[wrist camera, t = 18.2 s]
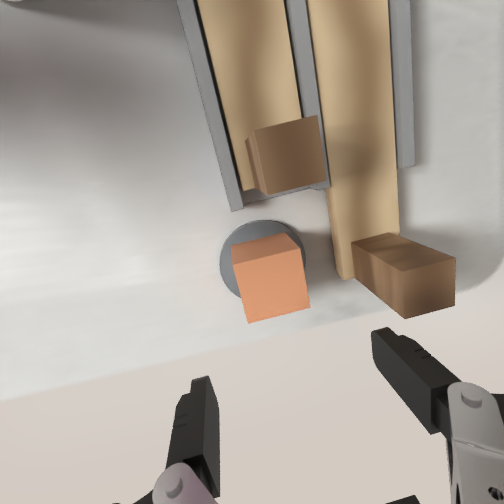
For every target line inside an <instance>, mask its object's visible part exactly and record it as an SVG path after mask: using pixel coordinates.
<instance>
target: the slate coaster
mask: <svg viewBox="0 0 504 504" xmlns="http://www.w3.org/2000/svg"><path fill="white" fill-rule="evenodd" d="M283 232H285V233H286V234H287V235H288V236H289V237H290V238H291V239H292V240H293V241H294V242H295V243H296V244H297V246H298V247H299V248H300V250H301V256H302V262H303V268H304V267H305V252H304V248H303V246H302V243H301V242H300V240H299V238H298V237H297V236H296V235H295V234H294V233H293V232H292V231H291V230H290V229H289V228H287V227H286V226H284V225H282V224H280V223H278V222H275V221H270V220H258V221H252V222H249V223H247V224H244V225H242V226H241V227H239V228H238V229H236V230H235V231H234V232H233V233H232V234H231V235H230V236H229V237H228V239H227V240H226V241H225V243H224V245H223V248H222V250H221V255H220V272H221V276H222V278H223V281H224V283H225V284H226V286H227V287H228V288H229V289H230V290H231V292H233V293H234V294H235V295H236V296H238V297H240V298H241V295H240V291H239V287H238V284H237V280H236V276H235V272H234V269H233V265H232V255H231V245H235V244H239V243H243V242H247V241H251V240H255V239H259V238H263V237H267V236H271V235H275V234H279V233H283Z"/></svg>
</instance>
